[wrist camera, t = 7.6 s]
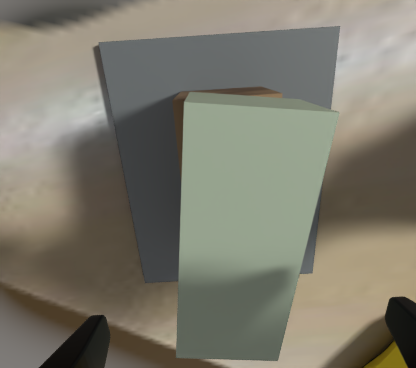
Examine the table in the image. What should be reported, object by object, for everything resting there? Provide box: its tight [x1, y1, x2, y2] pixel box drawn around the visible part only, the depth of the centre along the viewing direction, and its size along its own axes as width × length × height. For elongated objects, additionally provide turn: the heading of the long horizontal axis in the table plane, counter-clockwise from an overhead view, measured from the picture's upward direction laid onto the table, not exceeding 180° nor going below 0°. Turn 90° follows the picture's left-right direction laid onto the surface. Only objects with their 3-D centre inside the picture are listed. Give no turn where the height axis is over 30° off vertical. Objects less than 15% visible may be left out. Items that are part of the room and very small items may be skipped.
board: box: [98, 26, 340, 283], centre depth 20 cm, size 14×18×1 cm
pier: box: [172, 86, 282, 183], centre depth 16 cm, size 5×5×5 cm
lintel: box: [176, 92, 339, 361], centre depth 13 cm, size 5×12×4 cm, turn 176°
